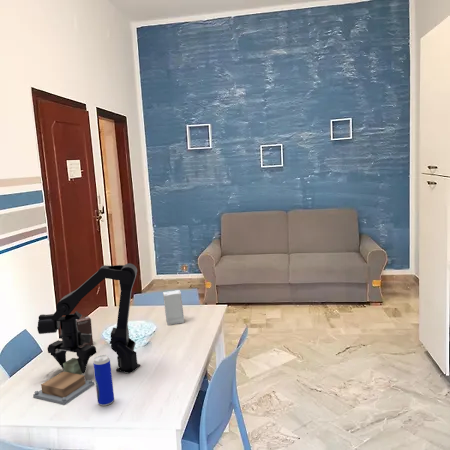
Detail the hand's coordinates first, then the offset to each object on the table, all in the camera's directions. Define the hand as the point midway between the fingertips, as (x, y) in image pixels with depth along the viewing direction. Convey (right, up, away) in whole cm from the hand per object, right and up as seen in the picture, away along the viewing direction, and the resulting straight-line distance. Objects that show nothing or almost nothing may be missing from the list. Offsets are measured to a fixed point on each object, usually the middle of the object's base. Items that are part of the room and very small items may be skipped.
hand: (74, 371), depth 170 cm
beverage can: (+17, -3, -21) cm, 28 cm away
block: (0, -1, 0) cm, 1 cm away
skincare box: (+32, +8, +47) cm, 58 cm away
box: (-4, +2, +26) cm, 27 cm away
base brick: (+1, -3, -12) cm, 13 cm away
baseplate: (+1, -3, -12) cm, 13 cm away
